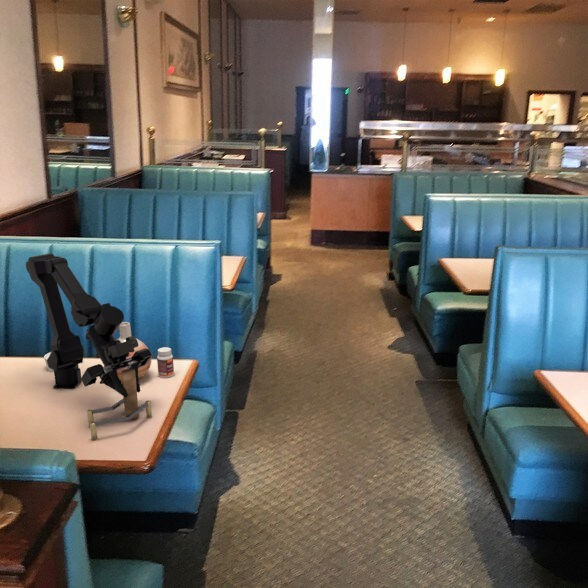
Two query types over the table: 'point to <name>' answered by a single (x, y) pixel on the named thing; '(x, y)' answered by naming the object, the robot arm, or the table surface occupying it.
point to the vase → (125, 333)
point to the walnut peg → (130, 391)
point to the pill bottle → (165, 362)
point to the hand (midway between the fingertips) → (133, 394)
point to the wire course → (93, 424)
